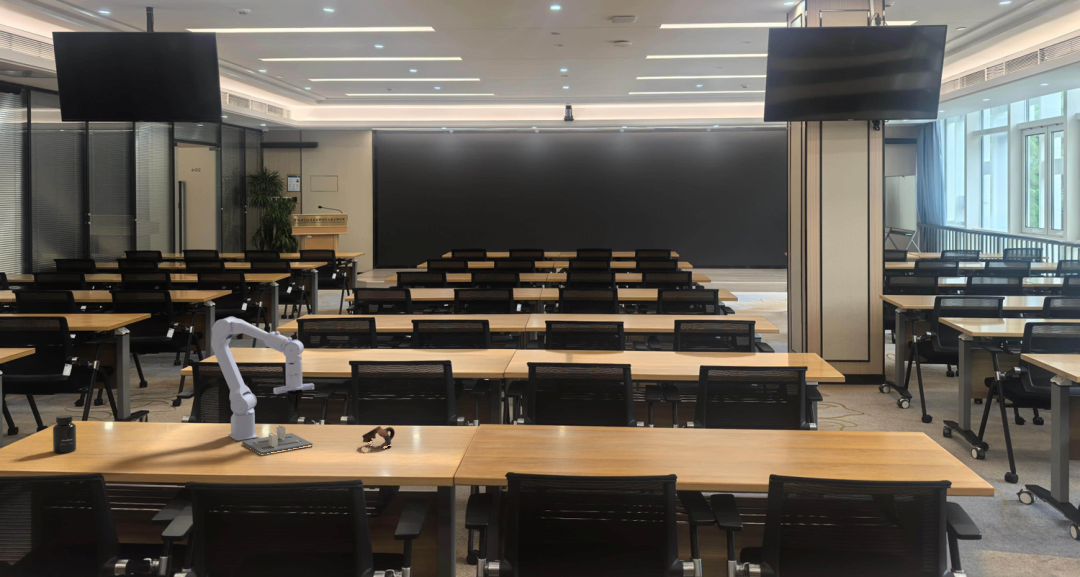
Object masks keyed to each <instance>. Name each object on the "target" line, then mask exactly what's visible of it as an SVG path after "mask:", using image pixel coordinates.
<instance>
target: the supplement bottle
mask: <svg viewBox="0 0 1080 577" xmlns="http://www.w3.org/2000/svg"><path fill="white" fill-rule="evenodd" d="M55 423H56V424H54V426H53V427H52V452H53V453H54V454H58V455H60V454H61V455H62V454H69V453H73V452H75V451H76V450H77V426H76V424H75V423H74V422H73V415H72V414H63V415H61V414H60V415H57V416H56V418H55Z"/></svg>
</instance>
